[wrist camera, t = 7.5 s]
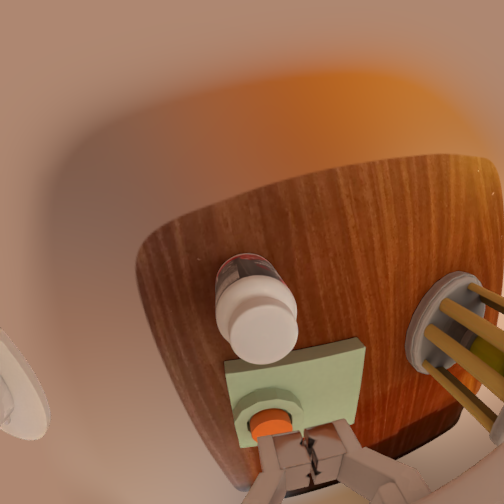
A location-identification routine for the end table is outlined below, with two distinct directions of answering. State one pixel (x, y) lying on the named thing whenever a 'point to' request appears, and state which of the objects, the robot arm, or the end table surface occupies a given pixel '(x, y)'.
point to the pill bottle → (255, 309)
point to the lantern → (460, 343)
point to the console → (298, 386)
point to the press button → (270, 423)
